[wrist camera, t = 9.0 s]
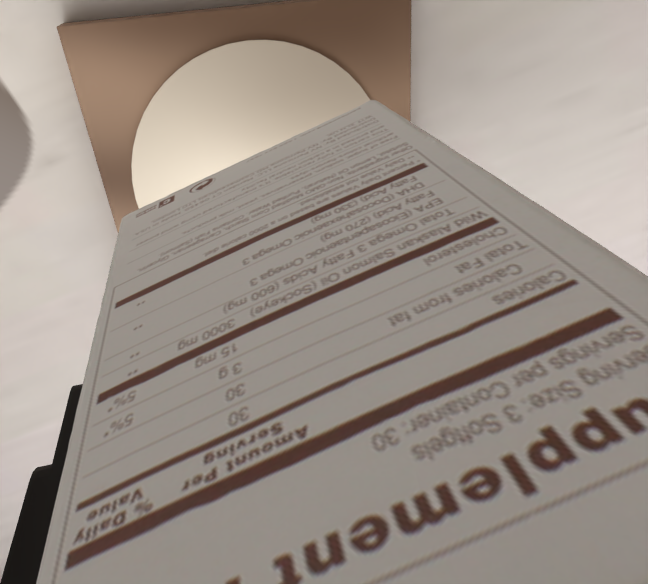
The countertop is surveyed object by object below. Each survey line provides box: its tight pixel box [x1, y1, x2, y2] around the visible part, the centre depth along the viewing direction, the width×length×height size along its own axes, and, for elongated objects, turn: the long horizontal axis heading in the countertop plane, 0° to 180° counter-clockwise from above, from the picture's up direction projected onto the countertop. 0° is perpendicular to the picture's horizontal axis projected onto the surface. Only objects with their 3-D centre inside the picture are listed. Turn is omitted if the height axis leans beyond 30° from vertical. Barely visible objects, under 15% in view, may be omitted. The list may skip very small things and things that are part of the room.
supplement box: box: [36, 100, 648, 584], centre depth 11 cm, size 7×7×13 cm
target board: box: [57, 0, 411, 233], centre depth 22 cm, size 12×12×1 cm
